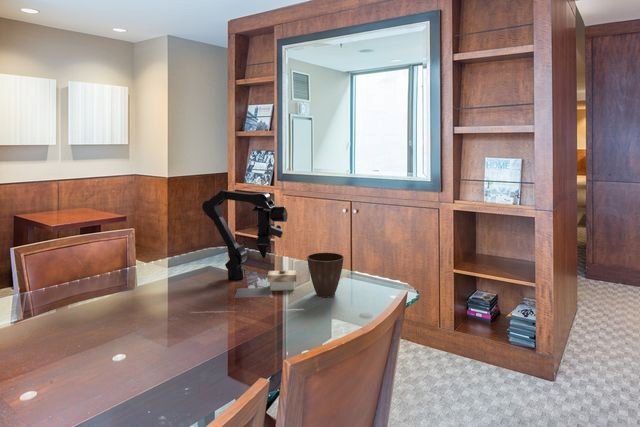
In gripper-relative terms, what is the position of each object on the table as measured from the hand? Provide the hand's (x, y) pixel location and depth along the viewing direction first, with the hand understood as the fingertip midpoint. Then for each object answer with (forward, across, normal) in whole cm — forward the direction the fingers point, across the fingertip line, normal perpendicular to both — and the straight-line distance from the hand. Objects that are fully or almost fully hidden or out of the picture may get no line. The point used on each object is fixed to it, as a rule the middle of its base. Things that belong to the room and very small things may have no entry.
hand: (264, 255), depth 213 cm
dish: (+12, -11, -8) cm, 18 cm away
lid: (+8, -11, -8) cm, 16 cm away
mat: (+12, -17, +4) cm, 21 cm away
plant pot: (+12, -20, -26) cm, 35 cm away
